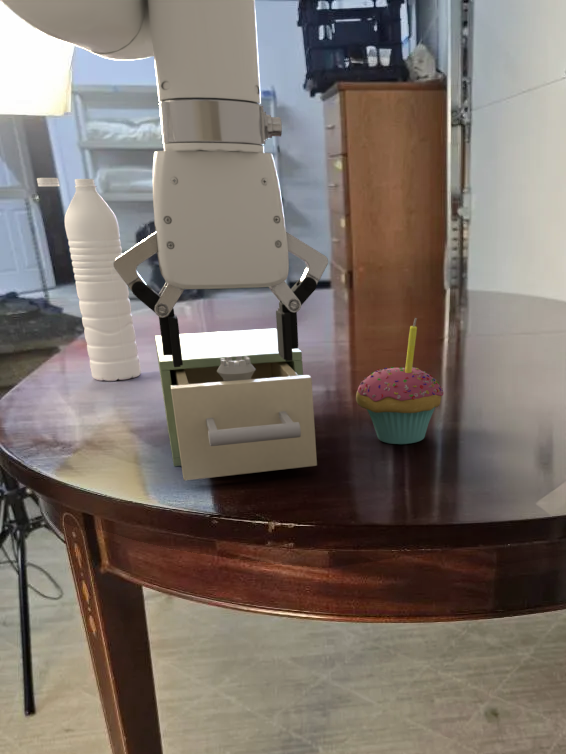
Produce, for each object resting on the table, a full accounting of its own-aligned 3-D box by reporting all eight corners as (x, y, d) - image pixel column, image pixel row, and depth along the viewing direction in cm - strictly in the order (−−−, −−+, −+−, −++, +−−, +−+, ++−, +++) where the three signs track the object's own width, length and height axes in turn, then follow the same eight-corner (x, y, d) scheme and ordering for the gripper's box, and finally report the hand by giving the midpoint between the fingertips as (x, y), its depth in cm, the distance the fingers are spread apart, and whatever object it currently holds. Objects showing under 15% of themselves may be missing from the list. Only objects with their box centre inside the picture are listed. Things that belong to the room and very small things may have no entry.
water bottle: (139, 369, 111) (110, 178, 101) (143, 378, 106) (112, 177, 95) (75, 375, 108) (37, 178, 98) (74, 384, 103) (35, 177, 92)
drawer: (331, 486, 63) (326, 392, 60) (188, 503, 60) (174, 405, 57) (289, 426, 80) (283, 349, 76) (175, 437, 77) (164, 358, 73)
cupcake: (457, 434, 79) (459, 313, 74) (411, 456, 73) (410, 326, 68) (389, 422, 84) (387, 308, 79) (340, 442, 77) (334, 319, 73)
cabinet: (308, 451, 75) (301, 351, 71) (173, 466, 71) (158, 361, 67) (282, 415, 87) (275, 328, 83) (167, 425, 84) (154, 335, 80)
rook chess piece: (209, 454, 68) (198, 362, 64) (233, 439, 72) (223, 352, 68) (256, 457, 67) (247, 365, 63) (277, 442, 71) (270, 354, 67)
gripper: (314, 138, 65) (322, 348, 72) (93, 132, 60) (125, 358, 67) (335, 132, 58) (342, 363, 65) (89, 125, 53) (125, 376, 60)
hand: (232, 360), depth 66 cm, fingers open, 8 cm apart
